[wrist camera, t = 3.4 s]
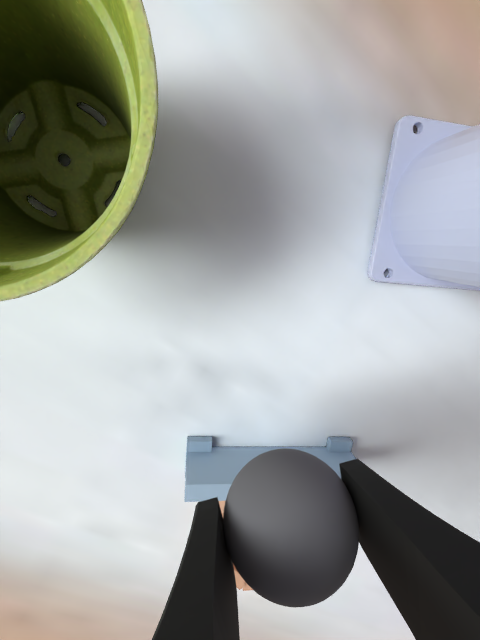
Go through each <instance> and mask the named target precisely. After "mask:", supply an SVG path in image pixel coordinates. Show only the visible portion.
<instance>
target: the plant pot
mask: <svg viewBox="0 0 480 640" xmlns="http://www.w3.org/2000/svg"><path fill="white" fill-rule="evenodd" d="M81 102H84V103H86V104H88V105H90V106H91V107H93V108H94V109H96V110H97V111H99V112H100V113H101V114H102V115H103V116H104V117H105V120H106V122H107V123H106V126H102V125H101V124H100V123H99V122H98V121H97V120H96V119H94V118H93V117H92V116H91V115H90V114H88V113H86V112H85V111H83V110H82V109H80V108H78V107H77V104H78V103H81ZM21 111H22V112H23V113H24V114H25V119H24V121H22V123H21V124H20V126H19V127H18V129H17V130H16V132H15V135H14V136H12V141H10V142H9V141H8V138H7V130H8V126H9V123H10V121H11V119H12V118H13V117H14V116H15V114H17V113H19V112H21ZM157 116H158V81H157V71H156V61H155V55H154V49H153V44H152V38H151V33H150V28H149V24H148V20H147V17H146V13H145V9H144V6H143V3H142V0H0V301H4V300H9V299H15V298H19V297H22V296H25V295H29V294H32V293H34V292H37V291H39V290H42V289H44V288H47V287H49V286H51V285H53V284H55V283H58V282H59V281H61V280H63V279H64V278H66V277H68V276H69V275H71V274H73V273H74V272H76V271H77V270H78V269H80V268H81V267H82V266H84V265H85V264H86V263H87V262H89V261H90V260H91V259H92V258H94V257H95V256H96V255H97V254H98V253H99V252H100V251H101V250H102V249H103V248H104V247H105V246H106V245H107V244H108V243H109V241H110V240H111V239H112V238H113V237H114V236H115V234H116V233H117V232H118V231H119V229H120V228H121V227H122V225H123V223H124V222H125V220H126V219H127V217H128V215H129V214H130V212H131V211H132V209H133V207H134V204H135V202H136V200H137V198H138V196H139V193H140V191H141V189H142V186H143V183H144V180H145V177H146V175H147V171H148V167H149V163H150V159H151V155H152V151H153V147H154V141H155V134H156V126H157ZM60 154H66V155H68V157H69V158H70V160H71V161H70V164H69V165H68V166H63V165H62V164H60V163H59V161H58V156H59V155H60ZM119 180H122V181H121V183H120V186H119V188H118V190H117V192H116V194H115V196H114V198H113V199H112V201H111V202H110V204H109V206H108V207H106V206H105V201H106V200H107V199H108V198H109V197H110V196H111V194H112V193H113V191H114V189H115V187H116V183H117V181H119ZM30 195H31V196H33V197H34V198H35V199H36V200H38V201H39V202H41V203H42V204H43V205H45V206H47V207H48V208H50V209H52V210H55V211H56V213H57V216H54V217H51V216H49V215H48V214H46V213H44V212H43V211H41V210H37V209H35V208H34V207H33V206H32V205H31V204H30V203H29V202H28V201H27V196H30Z"/></svg>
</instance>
